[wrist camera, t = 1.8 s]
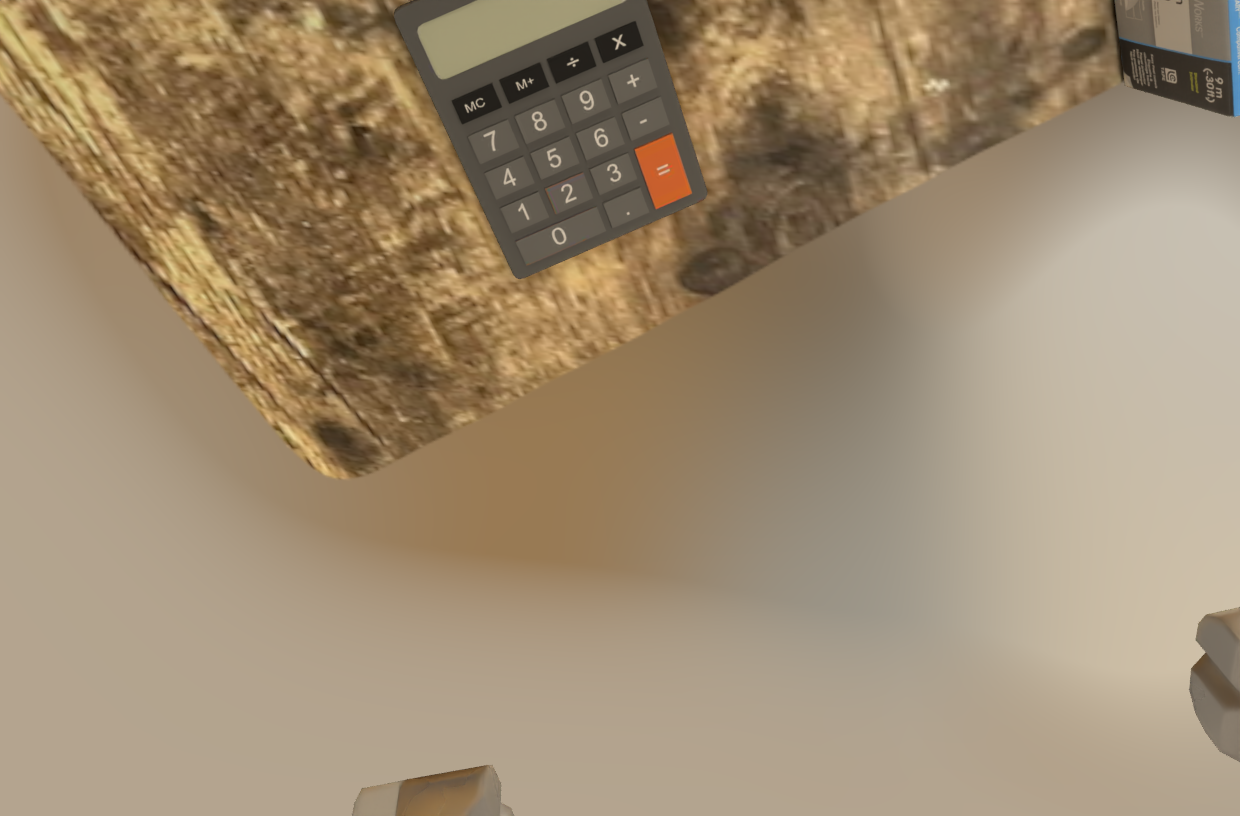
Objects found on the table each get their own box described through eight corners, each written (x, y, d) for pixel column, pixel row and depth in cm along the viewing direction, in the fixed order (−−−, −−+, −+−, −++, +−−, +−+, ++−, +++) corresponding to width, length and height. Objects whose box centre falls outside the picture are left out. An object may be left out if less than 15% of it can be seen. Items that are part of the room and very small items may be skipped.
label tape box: (1103, -65, 52) (1287, -42, 41) (1172, -100, 51) (1373, -85, 41) (1120, 87, 56) (1288, 142, 46) (1183, 55, 56) (1366, 104, 46)
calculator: (517, 282, 53) (391, 13, 45) (514, 276, 54) (390, 10, 46) (710, 198, 53) (619, -87, 45) (705, 193, 54) (615, -88, 46)
